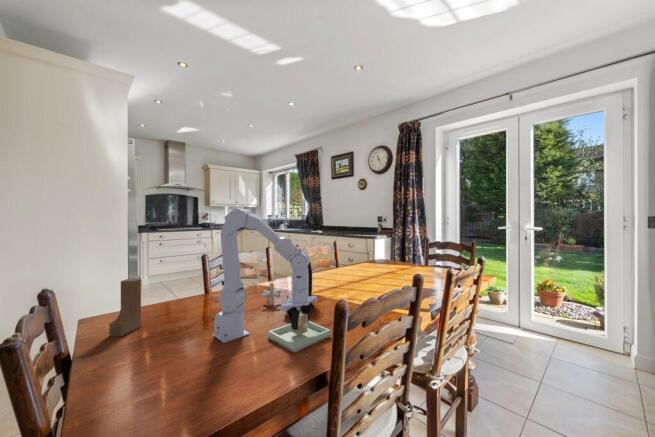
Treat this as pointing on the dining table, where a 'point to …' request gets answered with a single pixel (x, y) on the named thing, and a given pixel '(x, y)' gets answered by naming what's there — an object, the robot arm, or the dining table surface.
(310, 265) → the portable speaker
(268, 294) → the pipe connector
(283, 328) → the sorting tray
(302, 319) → the maple block
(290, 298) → the game die
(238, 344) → the dining table surface
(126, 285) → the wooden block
